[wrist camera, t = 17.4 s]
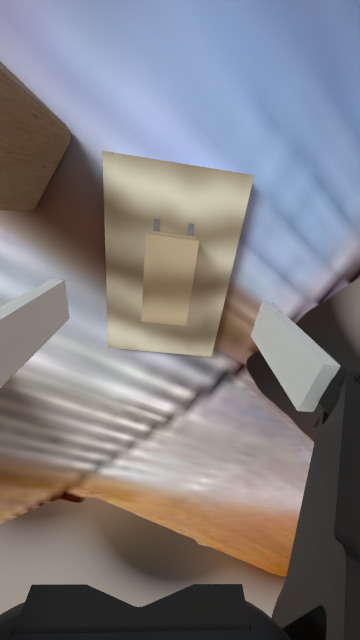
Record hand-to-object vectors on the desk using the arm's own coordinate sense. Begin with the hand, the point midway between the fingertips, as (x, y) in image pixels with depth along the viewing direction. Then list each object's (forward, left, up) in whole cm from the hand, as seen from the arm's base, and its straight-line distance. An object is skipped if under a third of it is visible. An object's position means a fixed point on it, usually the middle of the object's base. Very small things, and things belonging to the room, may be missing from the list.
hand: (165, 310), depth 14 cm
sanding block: (+1, 0, -14) cm, 14 cm away
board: (+1, 0, -16) cm, 16 cm away
